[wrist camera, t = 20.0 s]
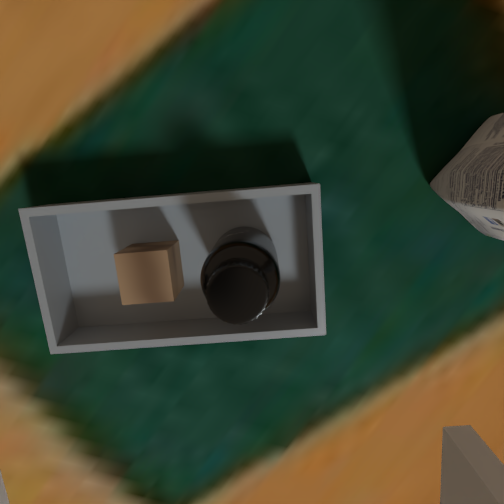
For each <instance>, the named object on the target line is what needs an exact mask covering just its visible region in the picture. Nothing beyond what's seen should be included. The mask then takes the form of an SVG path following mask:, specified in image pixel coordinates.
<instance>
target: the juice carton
mask: <svg viewBox="0 0 504 504" xmlns="http://www.w3.org/2000/svg"><path fill="white" fill-rule="evenodd" d="M430 186H431V188H432V189H433V190H434V191H435V192H436V193H437V194H438V195H439V196H440V197H441V198H442V199H443V200H445V201H446V202H447V203H448V204H449V205H450V206H452V207H453V208H454V209H456V210H457V211H458V212H459V213H460V214H461V215H462V216H463V217H464V218H465V219H466V220H468V221H469V222H470V223H471V224H472V225H473V226H474V227H475V228H476V229H477V230H479V231H480V232H481V233H483V234H485V235H487V236H490V237H493V238H497V239H500V240H504V113H501V114H497V115H494V116H491V117H489V118H488V119H487V120H486V121H485V122H484V123H483V124H482V125H481V126H480V127H479V129H478V130H477V131H476V132H475V133H474V134H473V136H472V137H471V138H470V139H469V141H468V142H467V143H466V144H465V145H464V147H463V148H462V149H461V150H460V151H459V152H458V154H457V155H456V156H455V157H454V158H453V159H452V160H451V161H450V162H449V163H448V164H447V165H446V166H445V167H444V168H443V169H442V170H441V171H440V172H439V173H438V174H437V175H436V177H435V178H434V179H433V180H432V181H431V183H430Z"/></svg>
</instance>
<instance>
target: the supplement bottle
mask: <svg viewBox="0 0 504 504" xmlns="http://www.w3.org/2000/svg"><path fill="white" fill-rule="evenodd" d="M200 282H201V288H202V291H203V294H204V296H205V298H206V300H207V304H208V305H209V308H210V310H211V311H212V312H213V314H214V315H216V316H217V318H219V319H221V320H222V321H224V322H227V323H232V324H234V325H235V324H240V325H241V324H243V323H245V324H247V323H248V322H252V321H253V320H254V319H257V318H258V317H259V316H260V315H261V314H262V313H263V311H264V310H266V309H267V308H268V307H269V306H270V305H271V304H272V303H273V301H274V300H275V298H276V296H277V294H278V292H279V288H280V270H279V263H278V257H277V252H276V249H275V246H274V244H273V242H272V241H271V239H270V238H269V237H268V236H267V235H266V234H265V233H264V232H262V231H260V230H258V229H256V228H253V227H246V226H243V227H236V228H233V229H231V230H229V231H227V232H226V233H224V234H223V235H222V236H221V237H220V238H219V239H218V241H217V242H216V244H215V245H214V247H213V248H212V250H211V251H210V253H209V255H208V256H207V258H206V260H205V261H204V264H203V266H202V270H201V275H200Z"/></svg>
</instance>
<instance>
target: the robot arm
mask: <svg viewBox="0 0 504 504" xmlns="http://www.w3.org/2000/svg"><path fill="white" fill-rule="evenodd" d="M0 504H9V500H8V497H7V493H6V490H5V486H4V482H3V479H2V475H1V471H0ZM440 504H504V465H503V463H502V462H501V461H500V460H499V459H498V458H497V456H496V455H495V454H494V453H493V452H492V450H491V449H490V448H489V447H488V446H487V445H486V443H485V442H484V441H483V440H482V439H481V437H480V436H479V435H478V434H477V433H476V432H475V430H474V429H473V428H472V427H471V426H470V425H466V426H450V427H443V440H442V468H441V495H440Z"/></svg>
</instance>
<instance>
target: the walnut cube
mask: <svg viewBox="0 0 504 504" xmlns="http://www.w3.org/2000/svg"><path fill="white" fill-rule="evenodd" d="M114 260H115V266H116V271H117V277H118V283H119V289H120V295H121V301H122V305H131V304H145V303H158V302H172V301H175V299H176V298H177V296H178V294H179V293H180V291H181V290H182V288H183V287H184V278H183V270H182V262H181V254H180V246H179V240H174V241H161V242H148V243H136V244H131V245H129V246H127V247H125V248H124V249H122V250H120V251H118V252H117V253H115V254H114Z"/></svg>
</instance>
